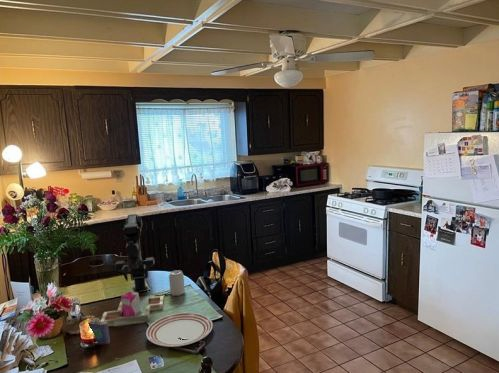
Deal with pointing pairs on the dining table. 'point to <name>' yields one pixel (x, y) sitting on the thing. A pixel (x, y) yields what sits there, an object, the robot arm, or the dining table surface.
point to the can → (176, 283)
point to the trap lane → (117, 320)
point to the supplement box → (131, 304)
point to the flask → (100, 331)
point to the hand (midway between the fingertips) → (136, 279)
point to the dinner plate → (179, 329)
